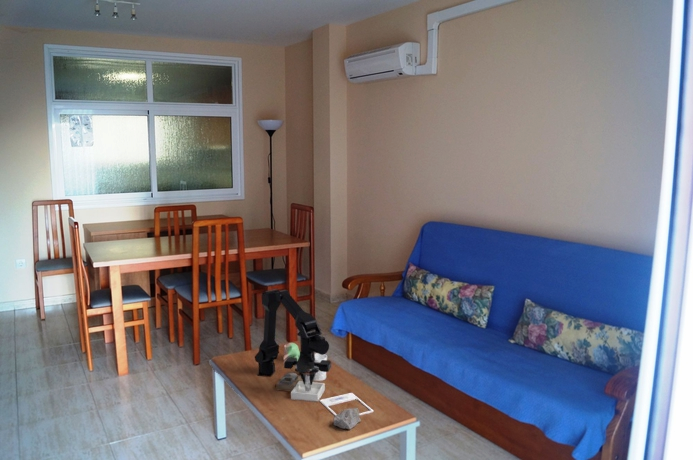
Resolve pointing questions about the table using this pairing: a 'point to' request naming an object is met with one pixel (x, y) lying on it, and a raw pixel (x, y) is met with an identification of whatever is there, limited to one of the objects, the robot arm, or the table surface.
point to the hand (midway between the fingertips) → (308, 384)
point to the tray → (308, 392)
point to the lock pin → (307, 381)
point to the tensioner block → (288, 382)
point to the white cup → (319, 375)
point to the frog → (291, 351)
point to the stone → (347, 418)
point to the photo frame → (342, 399)
